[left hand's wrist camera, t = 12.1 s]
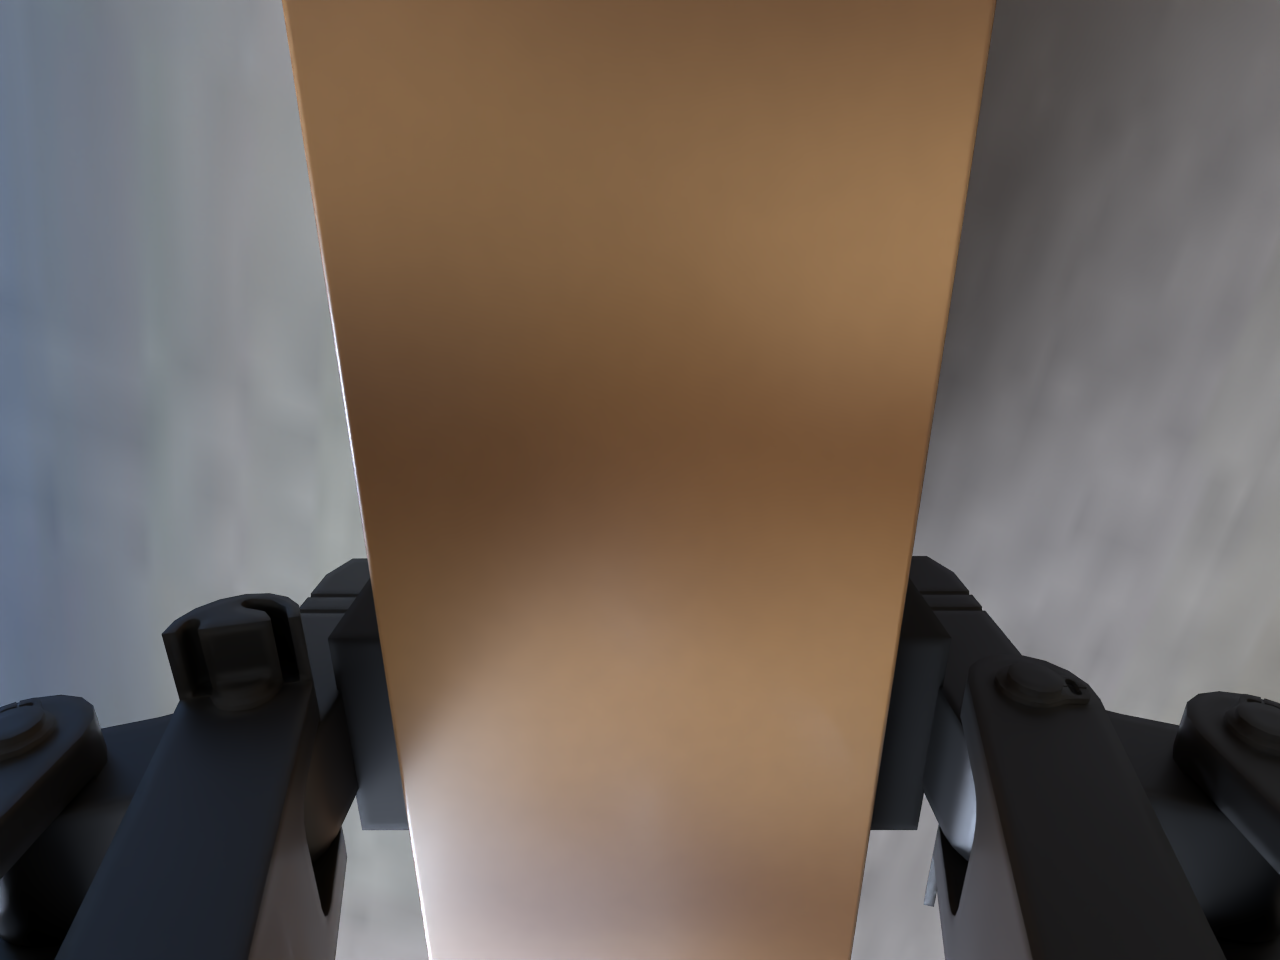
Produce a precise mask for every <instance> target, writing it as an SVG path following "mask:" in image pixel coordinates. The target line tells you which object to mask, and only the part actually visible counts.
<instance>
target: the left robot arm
mask: <svg viewBox="0 0 1280 960" xmlns="http://www.w3.org/2000/svg"><path fill="white" fill-rule="evenodd" d="M162 637H163V641H164V645H165V648H166V652H167V656H168V659H169V663H170V666H171V670H172V674H173V677H174V681H175V684H176V688H177V692H178V695H179V699H180V701H179V703H178V705H177V707H176V709H175V711H174V714H170V715H166V716H162V717H158V718H153V719H148V720H143V721H138V722H133V723H128V724H123V725H118V726H113V727H107V728H102V729H101V728H100V725H99V722H98V719H97V716H96V713H95V710H94V707H93V705H92V704H90V703H89V702H87V701H86V700H85V699H83V698H82V697H75V696H67V695H55V696H47V697H39V698H31V699H26V700H22V701H20V702H19V703H16V702H14V703H11V704H8V705H5V706H2V707H0V960H335V955H336V947H337V938H338V930H339V921H340V913H341V904H342V896H343V887H344V879H345V870H346V862H347V854H346V847H345V841H344V835H343V830H342V824H343V821H344V819H345V817H346V815H347V813H348V811H349V809H350V807H351V804H352V802H353V800H354V798H355V796H356V798H357V803H358V809H359V814H360V820H361V825H362V830H409V826H408V820H407V813H406V807H405V800H404V794H403V787H402V781H401V774H400V768H399V761H398V755H397V748H396V741H395V735H394V728H393V722H392V715H391V709H390V702H389V696H388V689H387V683H386V676H385V670H384V663H383V657H382V650H381V644H380V637H379V631H378V624H377V618H376V611H375V604H374V598H373V591H372V585H371V578H370V572H369V565H368V559H351V560H350V561H348V562H347V563H345V564H343V565H342V566H340V567H338V568H337V569H335V570H333V571H332V572H330V573H328V574H327V575H326V576H325V577H324V578H323V579H322V581H321V582H320V583H319V584H318V586H317V587H316V588H315V589H314V591H313V592H312V593H311V597H308V598H307V599H306V600H305V602H304V603H303V604H302V605H301V606H300V608H299V605H298V604H297V603H295V602H294V601H293V600H291V599H290V598H289V597H285V596H280V595H275V594H270V593H265V594H244V595H239V596H234V597H229V598H225V599H220V600H217V601H214V602H212V603H209V604H206V605H204V606H201V607H198V608H195V609H194V610H192V611H190V612H189V613H187V614H185V615H183V616H182V617H180V618H178V619H177V620H175V621H174V622H173V623H172V624H171V625H170V626H169V627H168V628H167V629H166V630H165V631H164V632H163V633H162ZM924 793H925V795H926V797H927V800H928V802H929V804H930V806H931V808H932V810H933V812H934V814H935V817H936V819H937V821H938V823H939V825H938V830H937V835H936V841H935V846H934V851H933V856H932V861H931V866H930V872H929V877H928V882H927V887H926V893H925V900H924V905H928V906H933V907H934V903H935V898H936V893H937V894H938V902H939V911H940V919H941V928H942V936H943V945H944V953H945V960H1280V703H1277V702H1274V701H1271V700H1268V699H1265V698H1264V700H1263V699H1261V697H1257V696H1252V695H1248V694H1237V693H1229V692H1221V691H1218V692H1210V693H1202V694H1198V695H1196V696H1195V697H1194V698H1192V699H1191V700H1190V701H1188V702H1187V704H1186V707H1185V710H1184V713H1183V717H1182V720H1181V723H1180V726H1179V725H1174V724H1169V723H1164V722H1159V721H1154V720H1149V719H1144V718H1139V717H1134V716H1128V715H1123V714H1119V713H1115V712H1111V711H1107V710H1105V708H1104V706H1103V704H1102V702H1101V700H1100V698H1099V697H1098V696H1097V695H1096V693H1095V692H1094V691H1093V690H1092V688H1091V687H1090V686H1089V685H1088V684H1087V683H1086V682H1084V681H1083V680H1081V679H1080V678H1078V677H1077V676H1075V675H1074V674H1072V673H1071V672H1070V671H1068V670H1065V669H1063V668H1061V667H1058V666H1056V665H1054V664H1051V663H1049V662H1047V661H1044V660H1039V659H1035V658H1031V657H1027V656H1022V655H1021V654H1020V652H1019V651H1018V650H1017V649H1016V648H1015V646H1014V645H1013V644H1012V643H1011V641H1010V640H1009V639H1008V638H1007V637H1006V635H1005V634H1004V633H1003V632H1002V631H1001V629H1000V628H999V627H998V626H997V624H996V623H995V622H994V621H993V620H992V618H991V617H990V616H989V615H988V614H987V612H986V611H982V606H981V605H980V604H979V603H978V601H977V600H976V599H975V598H974V597H973V595H969V590H968V589H967V588H966V587H965V586H964V584H963V583H962V582H961V581H960V580H959V578H958V577H957V576H956V575H955V573H954V572H952V571H951V570H949V569H947V568H946V567H944V566H942V565H941V564H939V563H937V562H936V561H934V560H932V559H931V558H929V557H927V556H912V559H911V566H910V573H909V579H908V586H907V592H906V599H905V605H904V612H903V619H902V625H901V632H900V638H899V645H898V651H897V658H896V665H895V671H894V678H893V684H892V691H891V697H890V704H889V711H888V717H887V724H886V730H885V737H884V743H883V750H882V757H881V763H880V770H879V776H878V783H877V789H876V796H875V803H874V809H873V816H872V822H871V829H870V830H917V828H918V822H919V817H920V811H921V806H922V800H923V795H924Z"/></svg>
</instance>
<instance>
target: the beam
mask: <svg viewBox="0 0 1280 960" xmlns="http://www.w3.org/2000/svg"><path fill="white" fill-rule="evenodd" d="M996 1H997V0H282V4H283V11H284V17H285V24H286V30H287V37H288V43H289V50H290V56H291V63H292V70H293V76H294V83H295V89H296V96H297V102H298V109H299V115H300V122H301V128H302V135H303V141H304V148H305V154H306V161H307V167H308V174H309V180H310V187H311V193H312V200H313V207H314V213H315V220H316V226H317V233H318V239H319V246H320V252H321V259H322V265H323V272H324V278H325V285H326V291H327V298H328V304H329V311H330V317H331V324H332V330H333V337H334V344H335V350H336V357H337V363H338V370H339V376H340V383H341V389H342V396H343V402H344V409H345V415H346V422H347V428H348V435H349V441H350V448H351V454H352V461H353V467H354V474H355V481H356V487H357V494H358V500H359V507H360V513H361V520H362V526H363V533H364V539H365V546H366V552H367V559H368V565H369V572H370V578H371V585H372V591H373V598H374V604H375V611H376V618H377V624H378V631H379V637H380V644H381V650H382V657H383V663H384V670H385V676H386V683H387V689H388V696H389V702H390V709H391V715H392V722H393V728H394V735H395V741H396V748H397V755H398V761H399V768H400V774H401V781H402V787H403V794H404V800H405V807H406V813H407V820H408V826H409V833H410V839H411V846H412V852H413V859H414V865H415V872H416V878H417V885H418V892H419V898H420V905H421V911H422V918H423V924H424V931H425V937H426V944H427V950H428V957H429V960H851V954H852V947H853V941H854V934H855V927H856V921H857V914H858V908H859V901H860V895H861V888H862V881H863V875H864V868H865V862H866V855H867V849H868V842H869V835H870V829H871V822H872V816H873V809H874V803H875V796H876V789H877V783H878V776H879V770H880V763H881V757H882V750H883V743H884V737H885V730H886V724H887V717H888V711H889V704H890V697H891V691H892V684H893V678H894V671H895V665H896V658H897V651H898V645H899V638H900V632H901V625H902V619H903V612H904V605H905V599H906V592H907V586H908V579H909V573H910V566H911V559H912V553H913V546H914V540H915V533H916V527H917V520H918V513H919V507H920V500H921V494H922V487H923V481H924V474H925V467H926V461H927V454H928V448H929V441H930V434H931V428H932V421H933V415H934V408H935V402H936V395H937V388H938V382H939V375H940V369H941V362H942V356H943V349H944V342H945V336H946V329H947V323H948V316H949V310H950V303H951V296H952V290H953V283H954V277H955V270H956V264H957V257H958V250H959V244H960V237H961V231H962V224H963V218H964V211H965V204H966V198H967V191H968V185H969V178H970V172H971V165H972V158H973V152H974V145H975V139H976V132H977V126H978V119H979V112H980V106H981V99H982V93H983V86H984V80H985V73H986V66H987V60H988V53H989V47H990V40H991V34H992V27H993V20H994V14H995V7H996Z"/></svg>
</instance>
